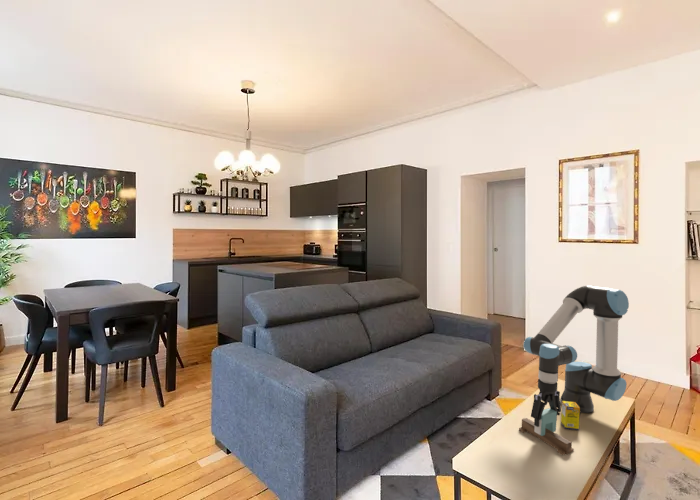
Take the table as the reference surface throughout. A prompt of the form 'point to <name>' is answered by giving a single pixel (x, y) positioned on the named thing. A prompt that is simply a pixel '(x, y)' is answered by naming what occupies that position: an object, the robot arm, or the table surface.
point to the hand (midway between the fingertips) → (545, 430)
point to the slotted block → (548, 420)
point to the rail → (548, 437)
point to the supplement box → (570, 415)
